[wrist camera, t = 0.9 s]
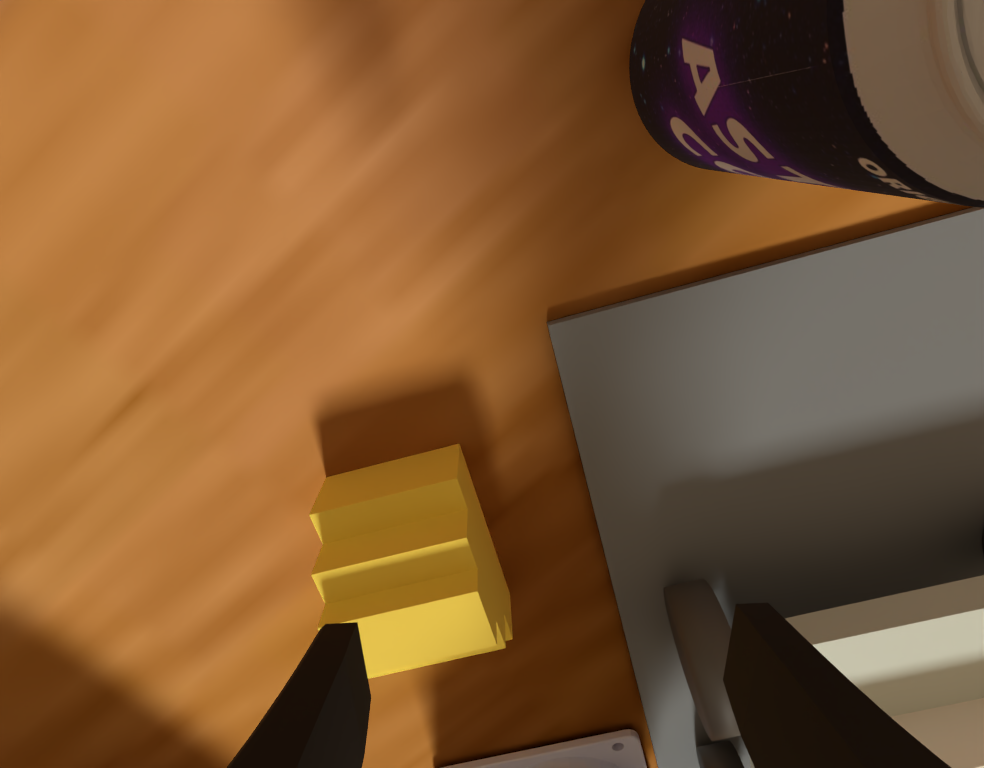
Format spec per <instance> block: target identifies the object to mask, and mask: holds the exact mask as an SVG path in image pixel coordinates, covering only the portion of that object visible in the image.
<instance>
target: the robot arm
mask: <svg viewBox="0 0 984 768" xmlns="http://www.w3.org/2000/svg"><path fill="white" fill-rule="evenodd" d="M723 682H724V685H725V688H726V692H727V695H728V698H729V701H730V704H731V708H732V711H733V714H734V717H735V720H736V723H737V726H738V729H739V732H740V735H741V737H742V740H743V742H744V744H745V747H746V749H747V751H748V753H749V756H750V758H751V760H752V762H753V765H754V767H755V768H951V767H950V766H949V765H948V764H946V763H945V762H944V761H943V760H941V759H940V758H939V757H938V756H936V755H935V754H934V753H933V752H931V751H930V750H929V749H928V748H927V747H926V746H924V745H923V744H922V743H921V742H920V741H918V740H917V739H916V738H915V737H914V736H912V735H911V734H910V733H909V732H908V731H906V730H905V729H904V728H903V727H902V726H900V725H899V724H898V723H897V722H896V721H895V720H893V719H892V718H891V717H890V716H889V715H888V714H887V713H885V712H884V711H883V710H882V709H881V708H880V707H879V706H878V705H876V704H875V703H874V702H873V701H872V700H871V699H870V698H869V697H868V696H866V695H865V694H864V693H863V692H862V691H861V690H860V689H859V688H858V687H857V686H855V685H854V684H853V683H852V682H851V681H850V680H849V679H848V678H847V677H846V676H845V675H843V674H842V673H841V672H840V671H839V670H838V669H837V668H836V667H835V666H834V665H833V664H832V663H831V662H830V661H829V660H827V659H826V658H825V657H824V656H823V655H822V654H821V653H820V652H819V651H818V650H817V649H816V648H815V647H814V646H813V645H812V644H811V643H810V642H809V641H808V640H807V639H806V638H804V637H803V636H802V635H801V634H800V633H799V632H798V631H797V630H796V629H795V628H794V627H793V626H792V625H791V624H790V623H789V622H788V621H787V620H786V619H785V618H784V617H783V616H782V615H781V614H779V613H778V612H777V611H776V610H775V609H774V608H773V607H772V606H771V605H770V604H769V603H747V604H736V606H735V612H734V618H733V624H732V629H731V635H730V641H729V647H728V653H727V659H726V664H725V670H724V676H723ZM370 702H371V694H370V689H369V683H368V677H367V672H366V666H365V661H364V655H363V650H362V644H361V639H360V633H359V628H358V622H353V623H332V624H325V625H324V626H323V627H322V628H321V629H320V630H319V632H318V634H317V635H316V637H315V639H314V640H313V642H312V644H311V645H310V647H309V649H308V650H307V652H306V654H305V655H304V657H303V658H302V660H301V662H300V663H299V665H298V666H297V668H296V670H295V671H294V673H293V674H292V676H291V677H290V679H289V680H288V682H287V683H286V685H285V686H284V688H283V690H282V691H281V693H280V694H279V695H278V697H277V698H276V700H275V701H274V703H273V704H272V706H271V707H270V709H269V710H268V711H267V713H266V714H265V716H264V717H263V719H262V720H261V722H260V723H259V724H258V726H257V727H256V729H255V730H254V732H253V733H252V734H251V736H250V737H249V739H248V740H247V741H246V743H245V744H244V745H243V747H242V748H241V749H240V751H239V752H238V753H237V755H236V756H235V757H234V759H233V760H232V761H231V762H230V764H229V765H228V766H227V768H362V763H363V759H364V753H365V745H366V737H367V729H368V720H369V711H370ZM441 768H647V766H646V762H645V758H644V754H643V750H642V747H641V743H640V739H639V735H638V733H637V732H636V731H634V730H631V729H625V730H620V731H615V732H610V733H605V734H601V735H596V736H591V737H586V738H581V739H576V740H572V741H567V742H562V743H557V744H552V745H547V746H543V747H538V748H533V749H528V750H523V751H518V752H513V753H509V754H504V755H499V756H494V757H489V758H484V759H480V760H475V761H470V762H465V763H460V764H455V765H451V766H446V767H441Z"/></svg>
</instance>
